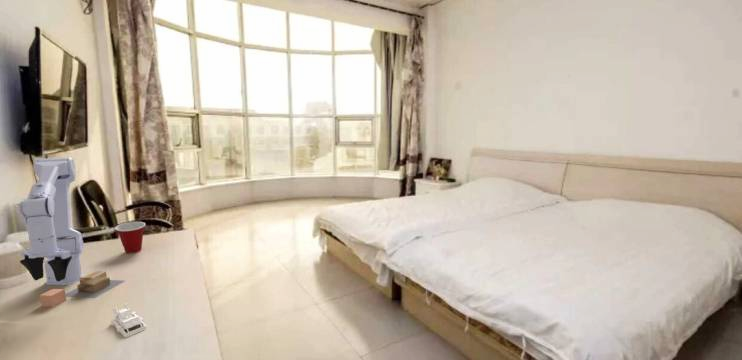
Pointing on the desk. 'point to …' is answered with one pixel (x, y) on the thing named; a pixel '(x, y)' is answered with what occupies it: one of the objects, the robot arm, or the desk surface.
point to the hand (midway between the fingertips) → (49, 279)
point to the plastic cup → (131, 236)
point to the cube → (52, 297)
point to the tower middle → (92, 277)
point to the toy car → (127, 321)
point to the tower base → (94, 286)
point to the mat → (93, 295)
